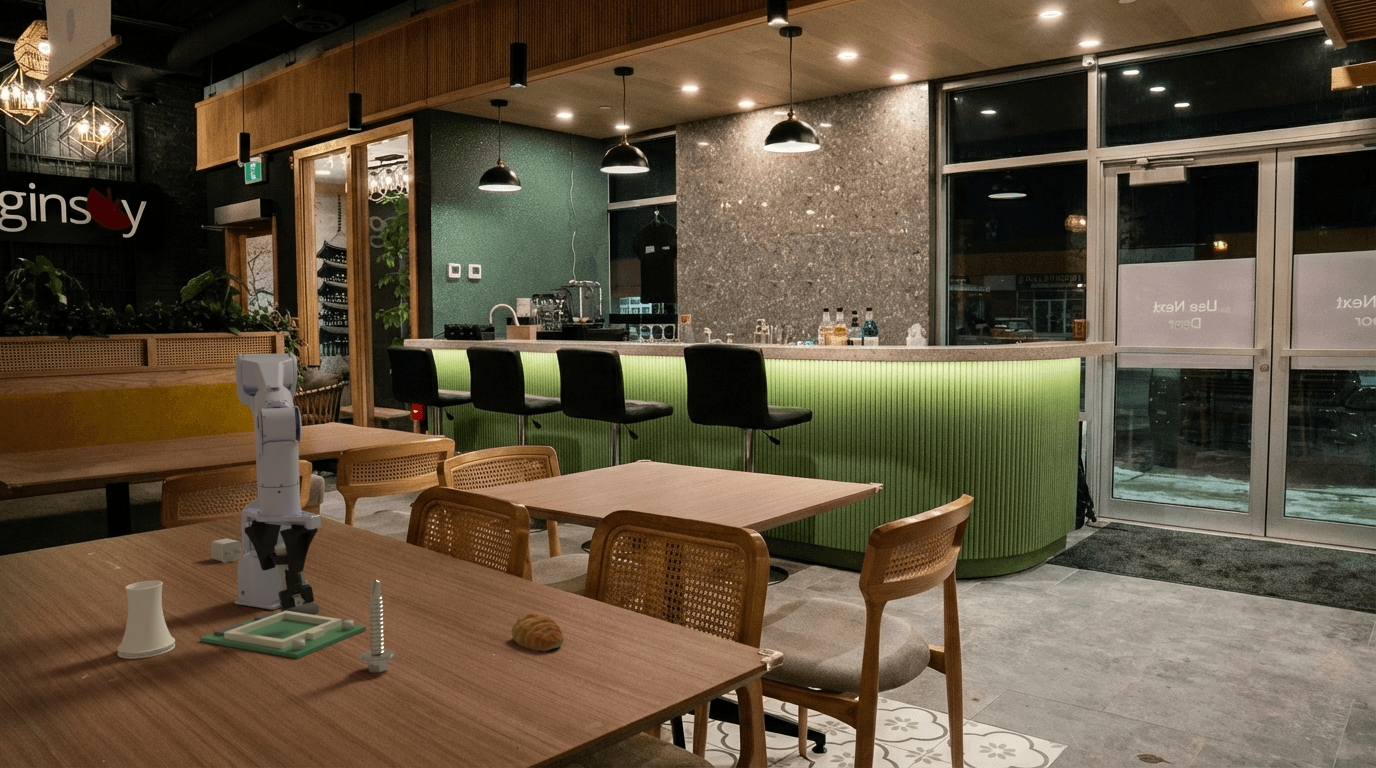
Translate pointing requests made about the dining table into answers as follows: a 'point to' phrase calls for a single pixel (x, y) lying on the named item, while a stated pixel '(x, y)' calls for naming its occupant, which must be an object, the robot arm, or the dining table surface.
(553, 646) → the pastry
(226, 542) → the usb wall charger
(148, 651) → the cooling tower
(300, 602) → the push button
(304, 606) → the dark gray round disc
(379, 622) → the screw
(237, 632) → the circuit board
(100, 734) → the dining table surface
